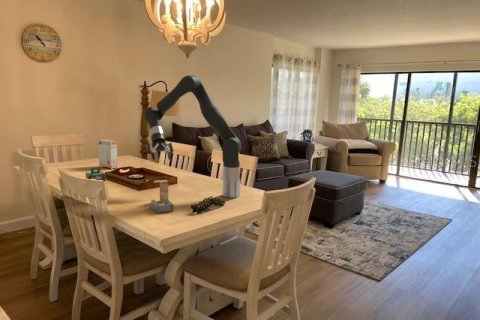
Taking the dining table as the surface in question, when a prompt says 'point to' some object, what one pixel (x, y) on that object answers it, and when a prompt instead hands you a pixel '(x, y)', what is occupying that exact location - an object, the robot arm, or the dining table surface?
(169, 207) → the end cap
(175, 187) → the dining table surface
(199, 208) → the decorative element
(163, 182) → the tan wooden block
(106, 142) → the cracker box
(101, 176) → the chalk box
